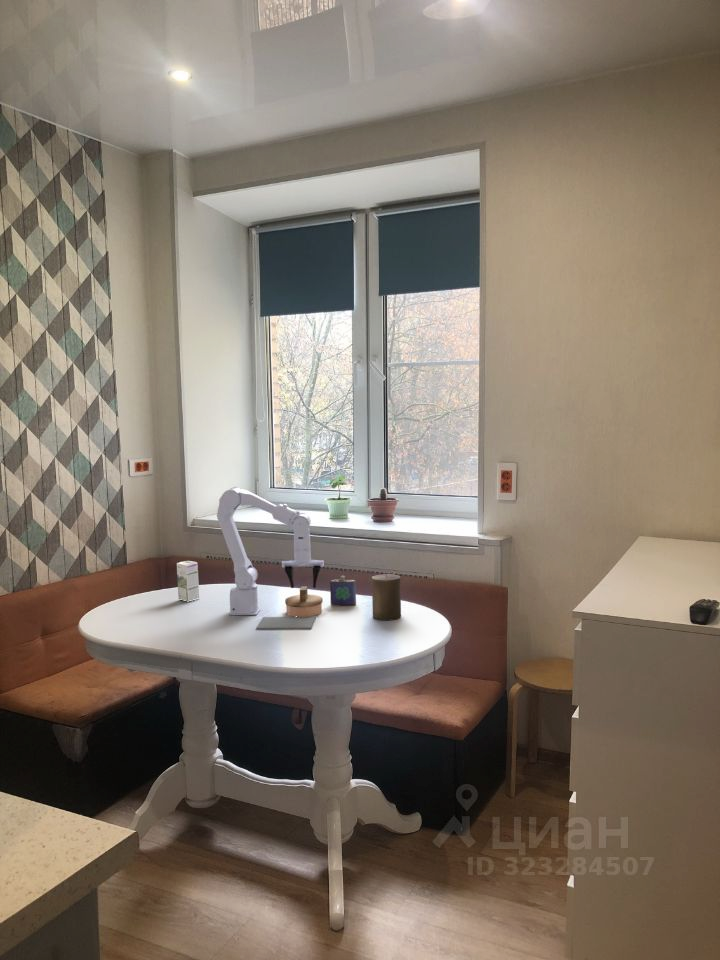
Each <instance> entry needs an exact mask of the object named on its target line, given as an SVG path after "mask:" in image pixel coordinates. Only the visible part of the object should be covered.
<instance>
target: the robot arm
mask: <svg viewBox="0 0 720 960" xmlns="http://www.w3.org/2000/svg"><path fill="white" fill-rule="evenodd" d="M218 501H219V503H218V508H217V513H216V518H217V520H218V524H219V526H220V529H221V532H222V534H223V537H224V540H225V543H226V546H227V549H228V553H229V554H230V557H231V560H232V562H233V572H234V576H235V577H234V583H235V585H236V587H231V588H230V591H229V612H230V613H229V615H230V616H257V615H258V614H259V612H260V611H261V609H262V607H259V602H258V599H259V598H258V596H259V595H258V584H257V583H256V581H257V579H258V577H259V573H258V570H257V569H256V568H255V567H254V566H253V563H252V561H251V560H250V559H249V558H248V555H247V553H246V550H245V546H244V544H243V541H242V539H241V536H240V534H239V531H238V528H237V525H236V522H235V519H234V514H235V513H236V510H237V508H238V507H240V506H241V507H244V506H252V507H255V508H257V509H260V510H262V511H264V512H267V513H269V514H271V515H272V519H273V520H276V521H278V522H279V523H281V524H284V525H286V526H287V527H292V529H293V555H294V556H293V557H294V559H293V560H282V561H281V568H282V569H283V568H284V572H285V574H286V576H287V578H288V580H289V583H290V587H291V589H294V588H295V579H294V578H295V577H294V574H295V573H294V568H302V567H303V568H307V567H308V568H311V567H312V578H313V584H312V585H313V586H312V587H313V588H314V589H315V588H317V580H318V577H319V574H320V571H321V569H322V568H323V567H324V566H325V560H319V559H312V555H311V554H312V552H311V550H312V549H311V534H310V533H311V532H310V530H311V529H310V526H311V518H310V516H309V515H308V514H306V513H305V512H301V511H300V510H297V511H296V510H295V509H292V508H290V507H289V506H288V504H286V503H284V504H282V503H279V504H274V503H272V502H270V501H268V500H266V499H264V498H262V497H260V496H258V495H257V494H255V493H253V492H251V491H250V490H247V489H242V488H241V487H239V486H233V487H231V488H230V489H227V490H225V491H223V493H222V495H221V496H220V498H219V499H218Z"/></svg>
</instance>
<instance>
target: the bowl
mask: <svg viewBox="0 0 720 960" xmlns="http://www.w3.org/2000/svg"><path fill="white" fill-rule="evenodd" d="M322 603H323V602H322ZM322 603H321V604H319V605H316V606H311V607H292V606H288V605H286V604H285V606H286V607H285V608H286V611H285V612H286V614H287V615H288V614H289V615H288V616H290V615H291V616H290V617H295V616H297V617H316V616H317V615H321V613H322V610H323V609H322V607H323V606H322Z"/></svg>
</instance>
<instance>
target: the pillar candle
mask: <svg viewBox="0 0 720 960" xmlns="http://www.w3.org/2000/svg"><path fill="white" fill-rule="evenodd" d="M371 591H372V592H371V593H372V594H371V595H372V597H371V598H372V599H371V600H372V602H371V603H372V617H373V619H376V620H380V621H391V620H390V619H394V620H397V619H396V618H398V617H400V616H401V617H402V600H401V599H402V597H401V594H402V593H401V592H402V591H401V576H400V575H398V574H390V573H385V574H384V573H383V574H376V575H374V576H373V575H372V576H371ZM401 617H400V618H401Z"/></svg>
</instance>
